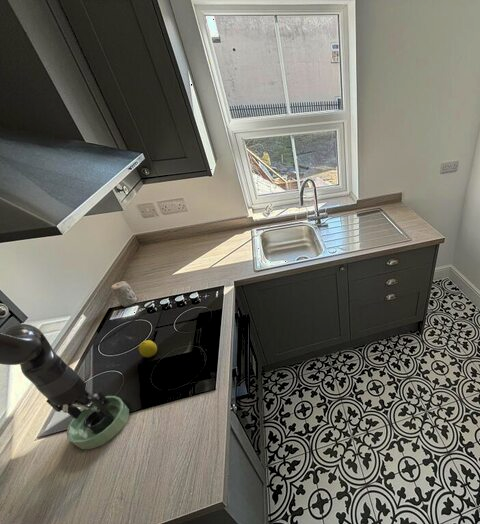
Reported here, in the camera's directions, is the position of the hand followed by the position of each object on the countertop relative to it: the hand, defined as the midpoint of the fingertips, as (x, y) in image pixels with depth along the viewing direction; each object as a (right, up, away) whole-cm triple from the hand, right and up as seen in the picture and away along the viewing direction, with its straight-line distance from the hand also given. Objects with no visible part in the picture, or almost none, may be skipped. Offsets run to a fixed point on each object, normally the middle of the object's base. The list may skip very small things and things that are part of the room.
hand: (92, 415), depth 89 cm
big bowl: (+1, -5, +4) cm, 6 cm away
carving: (-28, +27, +53) cm, 65 cm away
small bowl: (+1, -5, +3) cm, 6 cm away
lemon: (+1, +10, +26) cm, 28 cm away
